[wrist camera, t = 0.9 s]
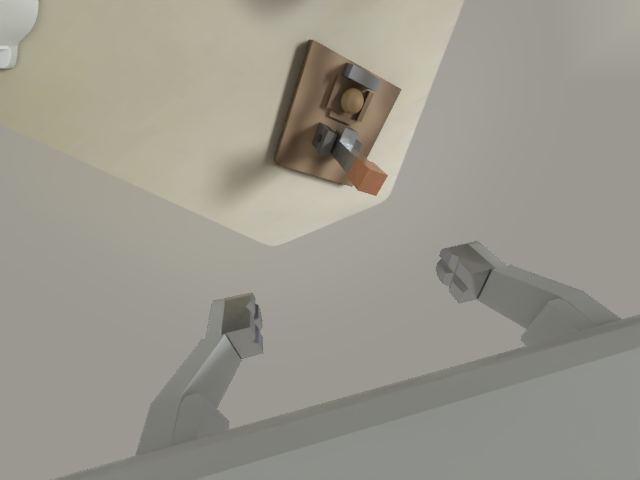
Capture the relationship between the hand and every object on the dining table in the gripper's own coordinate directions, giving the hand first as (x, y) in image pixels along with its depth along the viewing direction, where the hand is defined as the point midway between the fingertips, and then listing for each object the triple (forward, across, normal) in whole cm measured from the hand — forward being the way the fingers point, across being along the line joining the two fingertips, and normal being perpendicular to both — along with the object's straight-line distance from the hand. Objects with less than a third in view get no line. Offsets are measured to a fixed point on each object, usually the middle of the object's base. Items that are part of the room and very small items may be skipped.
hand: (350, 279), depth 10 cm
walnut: (+36, -11, 0) cm, 37 cm away
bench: (+38, -9, +3) cm, 39 cm away
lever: (+33, -8, +5) cm, 34 cm away
